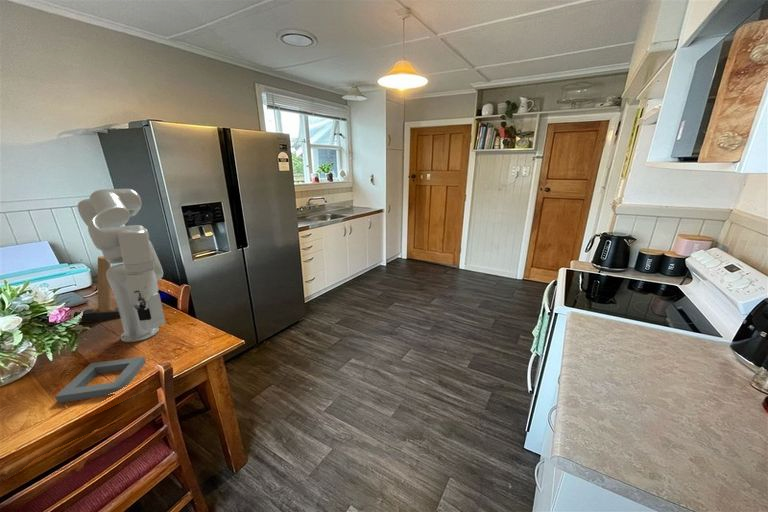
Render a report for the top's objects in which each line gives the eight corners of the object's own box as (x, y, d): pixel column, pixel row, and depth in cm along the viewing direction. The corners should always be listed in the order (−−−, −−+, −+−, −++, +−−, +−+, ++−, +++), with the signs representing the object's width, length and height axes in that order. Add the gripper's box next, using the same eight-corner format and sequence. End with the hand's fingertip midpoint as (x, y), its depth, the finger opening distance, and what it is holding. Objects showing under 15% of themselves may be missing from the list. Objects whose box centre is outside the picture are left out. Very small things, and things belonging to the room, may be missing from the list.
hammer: (134, 314, 145) (135, 256, 139) (132, 319, 141) (133, 259, 136) (76, 318, 133) (75, 254, 128) (73, 323, 129) (71, 257, 124)
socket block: (92, 369, 103) (90, 363, 102) (145, 362, 107) (144, 356, 107) (57, 403, 88) (55, 396, 88) (121, 393, 93) (119, 387, 92)
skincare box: (158, 320, 107) (152, 290, 104) (166, 323, 106) (160, 292, 102) (139, 328, 102) (132, 297, 98) (147, 331, 100) (140, 299, 97)
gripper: (138, 259, 104) (149, 304, 109) (111, 276, 88) (124, 328, 93) (163, 258, 106) (172, 302, 111) (140, 274, 90) (152, 325, 96)
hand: (150, 313), depth 102 cm, fingers closed on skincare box, 7 cm apart
